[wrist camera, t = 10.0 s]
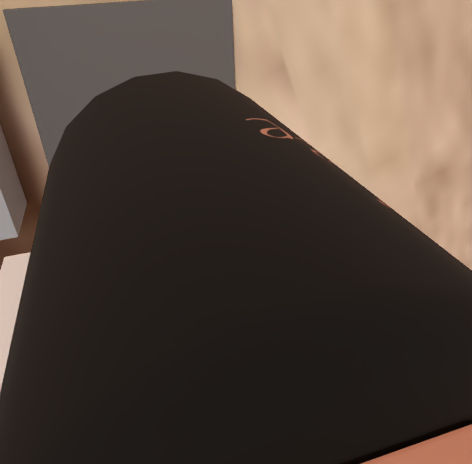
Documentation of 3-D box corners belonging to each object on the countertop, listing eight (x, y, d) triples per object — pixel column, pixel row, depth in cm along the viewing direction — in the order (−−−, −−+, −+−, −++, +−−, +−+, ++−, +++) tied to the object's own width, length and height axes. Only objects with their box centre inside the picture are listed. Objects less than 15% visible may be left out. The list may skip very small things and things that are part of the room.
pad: (63, 212, 33) (63, 216, 32) (4, 9, 25) (3, 9, 25) (237, 184, 36) (239, 186, 35) (229, -5, 29) (231, -5, 28)
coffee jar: (290, 234, 24) (613, 653, 9) (107, 301, 23) (137, 911, 8) (252, 33, 18) (1006, 305, 3) (1, 110, 17) (-674, 1135, 2)
